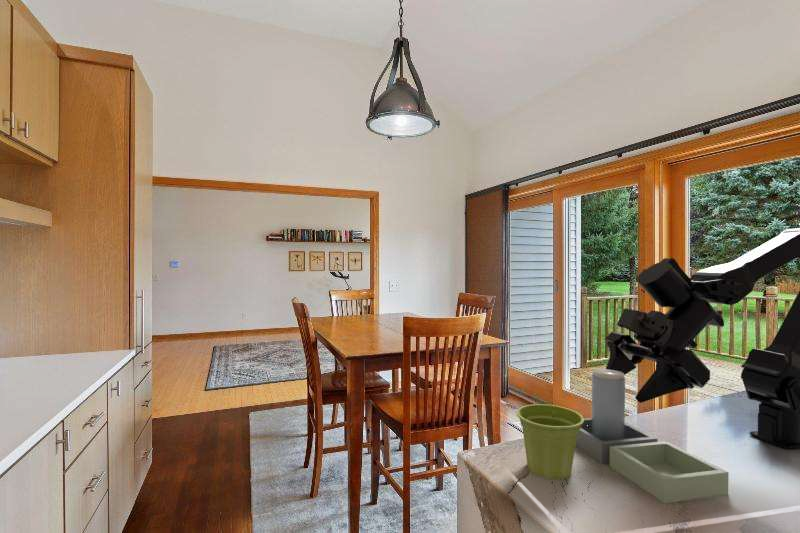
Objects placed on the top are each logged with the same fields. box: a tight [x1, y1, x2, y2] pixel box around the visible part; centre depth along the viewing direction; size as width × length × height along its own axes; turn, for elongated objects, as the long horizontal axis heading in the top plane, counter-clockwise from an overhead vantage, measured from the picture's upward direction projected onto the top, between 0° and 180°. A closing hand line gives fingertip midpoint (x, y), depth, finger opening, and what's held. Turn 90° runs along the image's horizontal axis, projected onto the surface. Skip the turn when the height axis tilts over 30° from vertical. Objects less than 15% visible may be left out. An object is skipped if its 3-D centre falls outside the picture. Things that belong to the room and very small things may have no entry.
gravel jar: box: [591, 368, 626, 441], centre depth 71 cm, size 5×5×12 cm
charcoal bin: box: [575, 417, 659, 464], centre depth 71 cm, size 10×10×4 cm
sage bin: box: [609, 440, 730, 505], centre depth 60 cm, size 10×10×4 cm
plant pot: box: [516, 403, 584, 480], centre depth 63 cm, size 9×9×9 cm
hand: (619, 391), depth 71 cm, fingers open, 9 cm apart
